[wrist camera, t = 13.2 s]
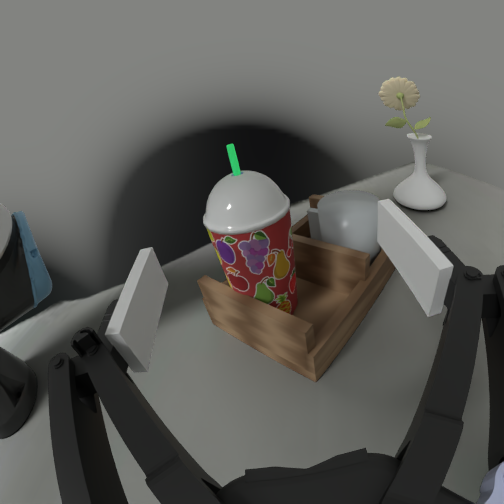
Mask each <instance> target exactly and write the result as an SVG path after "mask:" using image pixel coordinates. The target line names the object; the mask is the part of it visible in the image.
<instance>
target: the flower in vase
mask: <svg viewBox="0 0 504 504" xmlns="http://www.w3.org/2000/svg"><path fill="white" fill-rule="evenodd" d="M379 96H380V97H381V100H382V101H384V104H385V106H388V107H389V108H393V107H394V108H395V110H403V113H404V117H405V120H406V121H405V120H404V119H401V118H399V117H394V118H392V119H390V120H389V121H388V122H387V123H386V125H385V126H391V127H395V128H402V127H403V126H404V125H405V124H406V122H407V123H408V125H409V126H410V127H411V129H412V130H413V132H414V133H410V134H408V135H407V137H408V138H409V140H410V141H411V143H412V146H413V149H414V155H415V169H414V172H413V173H412V175H410V176H409V177H408V178H406V179H405V180H404V181H402V182H401V183H400V184H399V185H398V186H397V187H396V188H395V190H394V193H393V196H394V198H395V199H396V201H397V202H398V203H400V204H401V205H403V206H406V207H408V208H412V209H416V210H433V209H437V208H439V207H441V206H443V205H444V203H445V202H446V200H447V198H446V194H445V192H444V190H443V189H442V188H441V187H440V186H439V185H438V184H437V183H436V182H435V181H434V180H433V179H432V178H431V177H430V176H429V175H428V173H427V170H426V151H427V147H428V144H429V142H430V140H431V138H432V136H430V135H428V134H423V133H416V132H415V130H414V129H420V128H424V127H426V126H427V125H428V124H429V122H430V117H429V118H428V119H425V120H422V121H419V122H417V123H416V125H415V127H414V129H413V127H412V126H411V125H410V123H409V122H408V120H407V118H406V115H405V108H406V109H409V108H410V107H412V106H413V107H414V106H415V105H416V102H418V99H419V98H420V95H419V92H418V90H417V87H416V85H415V83H414V82H411V81H408V82H407V79H406V78H402V79H401V77H399V76H398V77H397V78H395V79H394V78H390V80H389V81H387V80H386V81H385V82H384V83H383V84H382V87H381V91H380V92H379Z"/></svg>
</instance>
